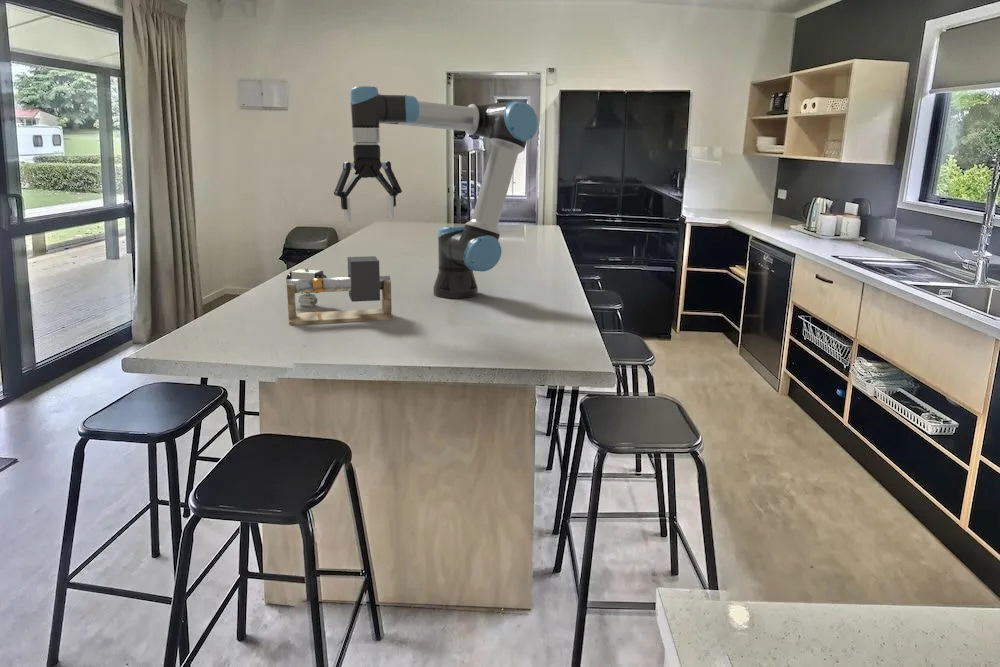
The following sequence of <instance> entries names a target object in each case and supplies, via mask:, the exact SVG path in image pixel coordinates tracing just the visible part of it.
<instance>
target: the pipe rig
mask: <svg viewBox="0 0 1000 667" xmlns="http://www.w3.org/2000/svg"><path fill="white" fill-rule="evenodd" d="M286 282H287V281H286ZM286 293H287V294H286V295H287V298H286V299H287V312H288V313H287V316H288V325H289V326H296V325H297V326H299V325H300V326H301V325H315V324H318V325H319V324H333V323H334V324H337V323H353V322H371V321H373V322H374V321H388V320H390V321H392V320H394V316H393V314H392V312H393V310H392V280H391V279H390V280H384V289H383V290H381V307H382V308H370V309H353V310H334V311H333V310H331V311H312V312H311V311H309V312H297V309H296V307H297V306H296V293H295V287H294V284H287V283H286Z"/></svg>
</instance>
